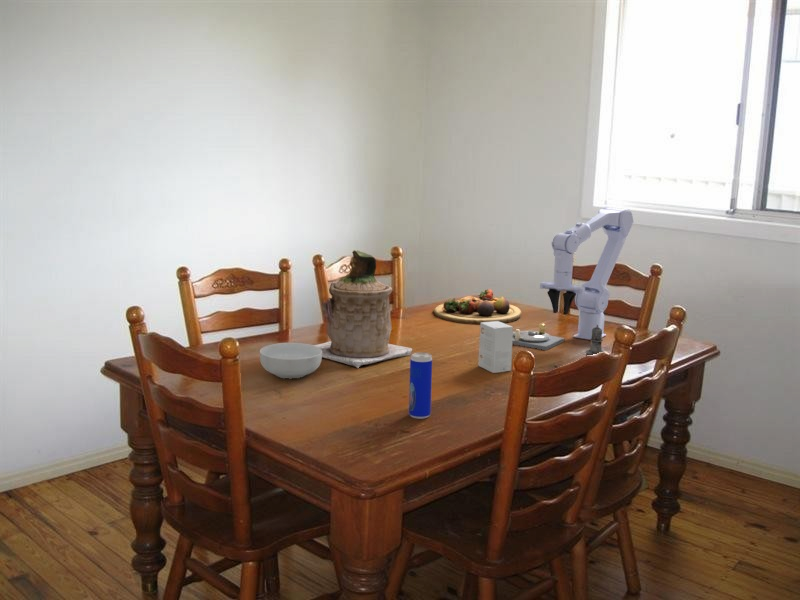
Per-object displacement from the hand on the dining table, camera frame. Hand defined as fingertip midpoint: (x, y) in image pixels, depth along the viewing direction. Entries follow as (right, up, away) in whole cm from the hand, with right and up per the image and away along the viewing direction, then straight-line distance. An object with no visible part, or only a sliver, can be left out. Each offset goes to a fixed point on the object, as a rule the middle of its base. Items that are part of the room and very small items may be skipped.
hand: (560, 313), depth 271 cm
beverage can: (-47, -24, -69) cm, 87 cm away
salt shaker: (+6, -15, -21) cm, 26 cm away
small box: (-24, -16, -28) cm, 40 cm away
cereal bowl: (-81, -17, -39) cm, 92 cm away
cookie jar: (-64, -12, -16) cm, 67 cm away
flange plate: (-9, -8, +3) cm, 13 cm away
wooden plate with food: (-23, -2, +41) cm, 47 cm away
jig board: (-9, -9, +3) cm, 13 cm away
